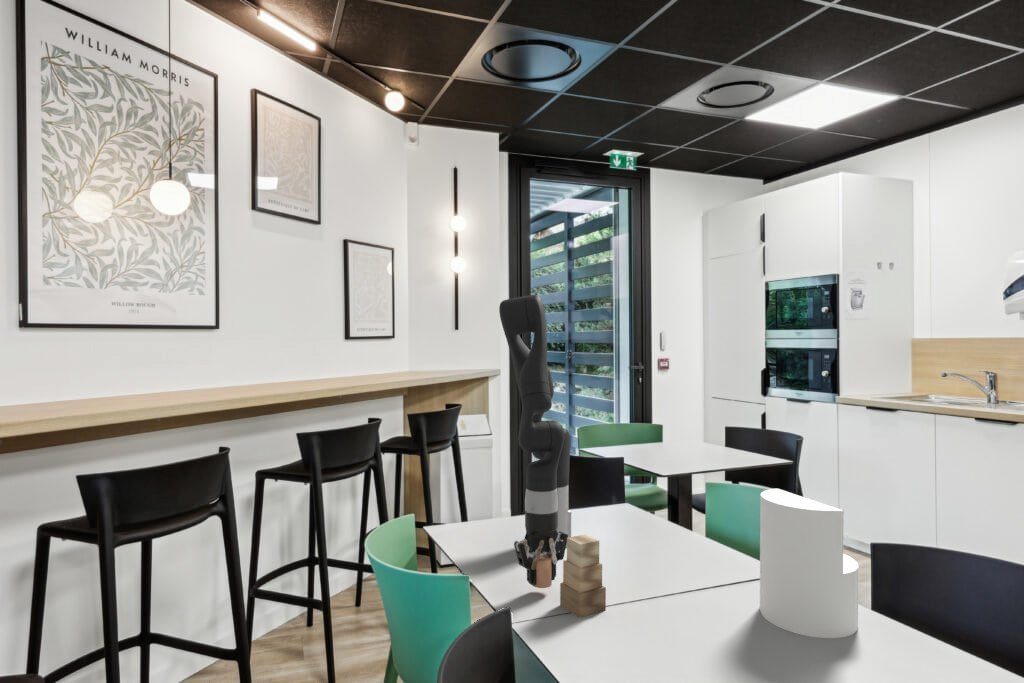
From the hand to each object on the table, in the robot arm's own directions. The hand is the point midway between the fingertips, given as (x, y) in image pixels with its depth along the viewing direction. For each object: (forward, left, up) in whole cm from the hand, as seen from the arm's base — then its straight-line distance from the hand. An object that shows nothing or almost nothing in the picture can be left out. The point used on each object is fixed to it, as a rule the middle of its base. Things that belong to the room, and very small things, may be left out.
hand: (541, 581), depth 143 cm
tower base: (-3, +11, -3) cm, 12 cm away
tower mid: (-3, +11, +2) cm, 12 cm away
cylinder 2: (-41, +39, -3) cm, 57 cm away
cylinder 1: (0, 0, -1) cm, 1 cm away
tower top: (-3, +11, +7) cm, 13 cm away
